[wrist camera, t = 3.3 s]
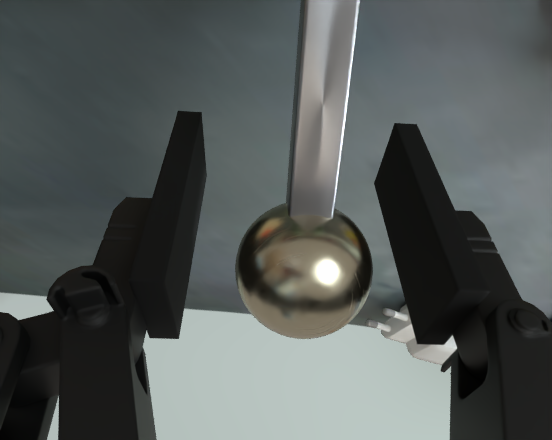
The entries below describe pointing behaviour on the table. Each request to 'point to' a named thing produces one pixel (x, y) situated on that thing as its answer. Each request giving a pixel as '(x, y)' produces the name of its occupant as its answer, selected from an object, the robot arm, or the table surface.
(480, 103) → the table surface
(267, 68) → the table surface
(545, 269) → the table surface
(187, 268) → the robot arm
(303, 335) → the lever switch
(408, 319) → the power adapter
